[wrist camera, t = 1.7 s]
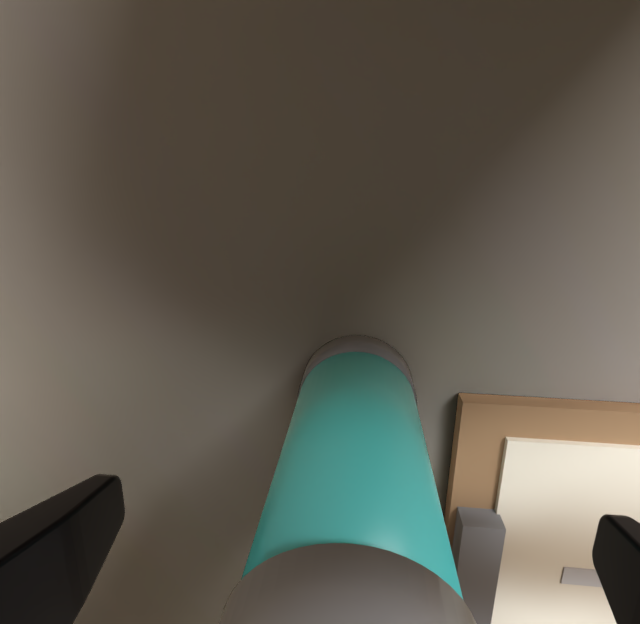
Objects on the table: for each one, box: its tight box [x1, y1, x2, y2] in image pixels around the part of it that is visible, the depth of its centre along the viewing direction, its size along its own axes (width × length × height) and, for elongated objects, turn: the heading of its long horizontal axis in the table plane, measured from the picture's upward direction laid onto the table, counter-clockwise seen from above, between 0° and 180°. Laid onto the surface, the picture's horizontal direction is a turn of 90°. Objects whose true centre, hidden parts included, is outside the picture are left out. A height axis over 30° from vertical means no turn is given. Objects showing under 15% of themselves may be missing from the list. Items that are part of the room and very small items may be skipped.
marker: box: [219, 335, 477, 624], centre depth 9 cm, size 3×3×10 cm
